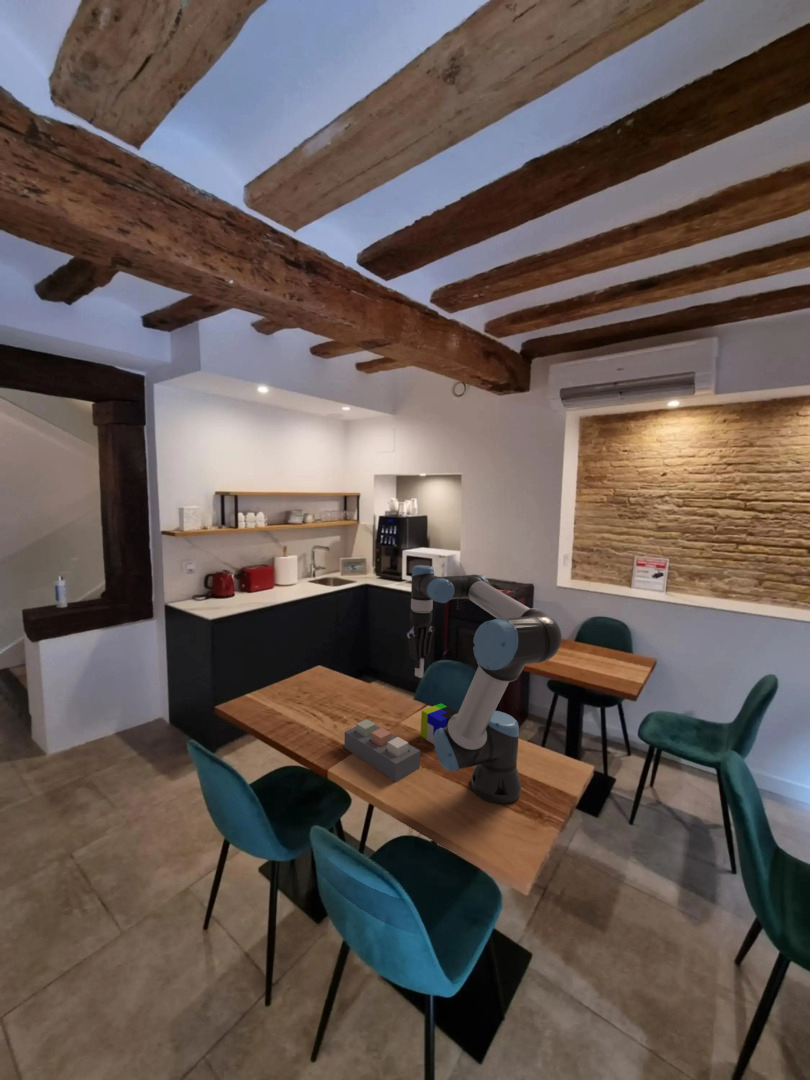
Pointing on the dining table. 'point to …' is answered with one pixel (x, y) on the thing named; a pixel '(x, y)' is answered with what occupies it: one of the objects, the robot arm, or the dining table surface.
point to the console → (382, 755)
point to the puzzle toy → (435, 720)
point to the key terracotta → (380, 737)
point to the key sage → (365, 728)
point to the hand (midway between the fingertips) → (419, 676)
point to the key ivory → (397, 747)
